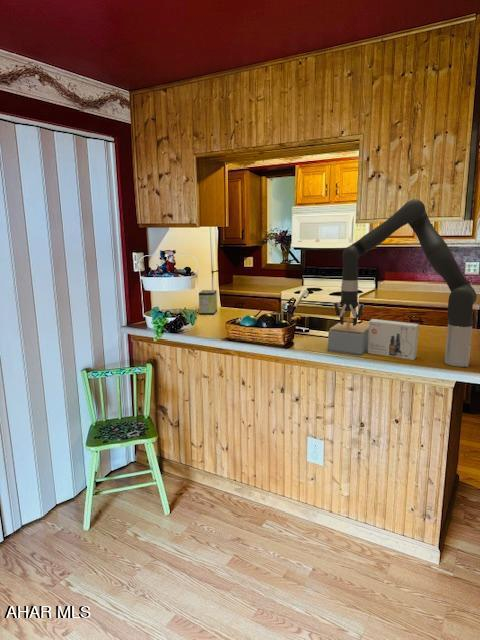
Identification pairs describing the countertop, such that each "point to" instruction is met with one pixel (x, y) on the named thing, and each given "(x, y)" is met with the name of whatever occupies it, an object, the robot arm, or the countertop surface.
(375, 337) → the skincare box
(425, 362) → the countertop surface
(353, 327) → the carton lid
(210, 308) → the protein box
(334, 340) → the carton
